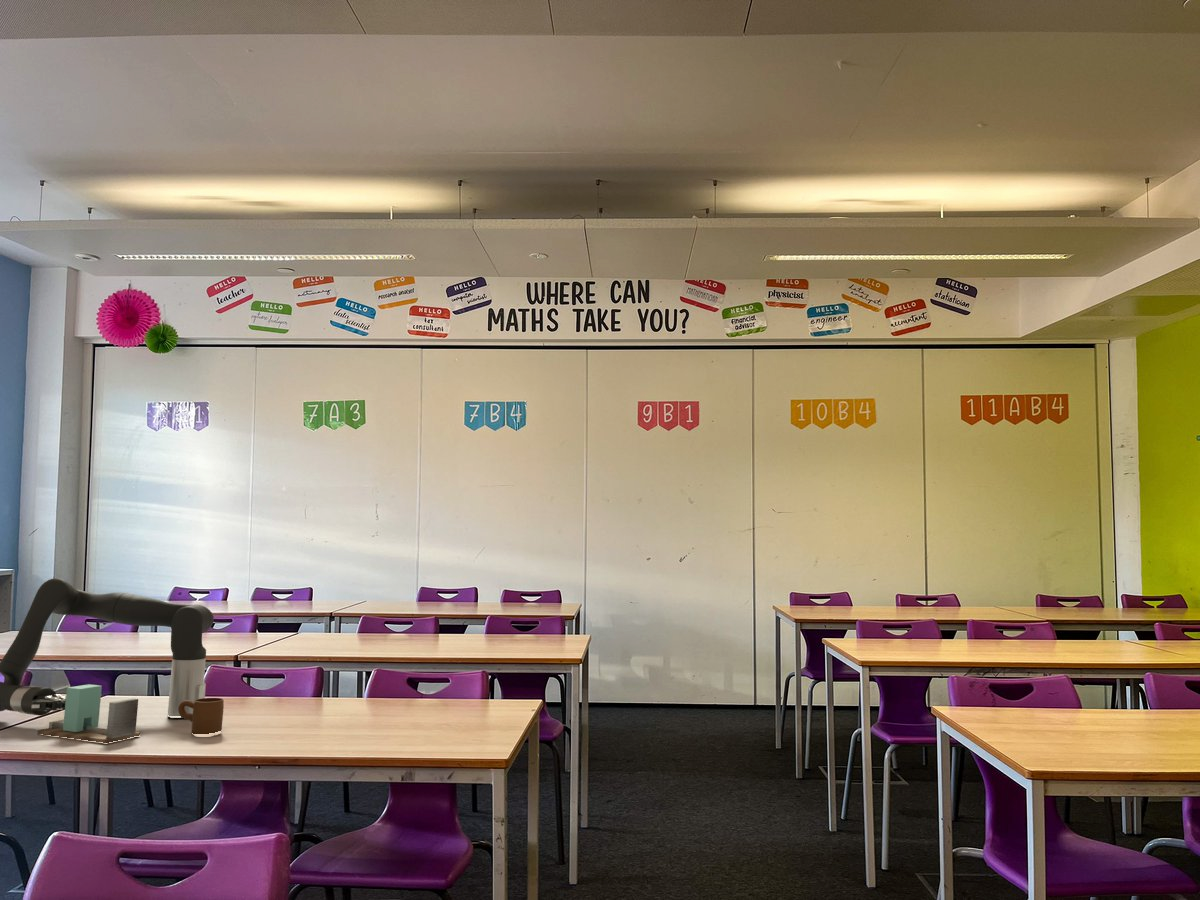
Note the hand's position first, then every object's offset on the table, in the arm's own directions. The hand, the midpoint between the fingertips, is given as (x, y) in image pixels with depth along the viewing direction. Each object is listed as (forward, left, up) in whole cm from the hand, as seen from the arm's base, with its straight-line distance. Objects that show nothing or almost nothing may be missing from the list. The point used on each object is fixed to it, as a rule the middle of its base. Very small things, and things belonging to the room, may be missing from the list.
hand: (76, 705), depth 226 cm
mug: (-33, +3, -8) cm, 34 cm away
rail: (-5, +3, -6) cm, 9 cm away
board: (-5, +3, -8) cm, 9 cm away
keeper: (-2, +1, -6) cm, 6 cm away
